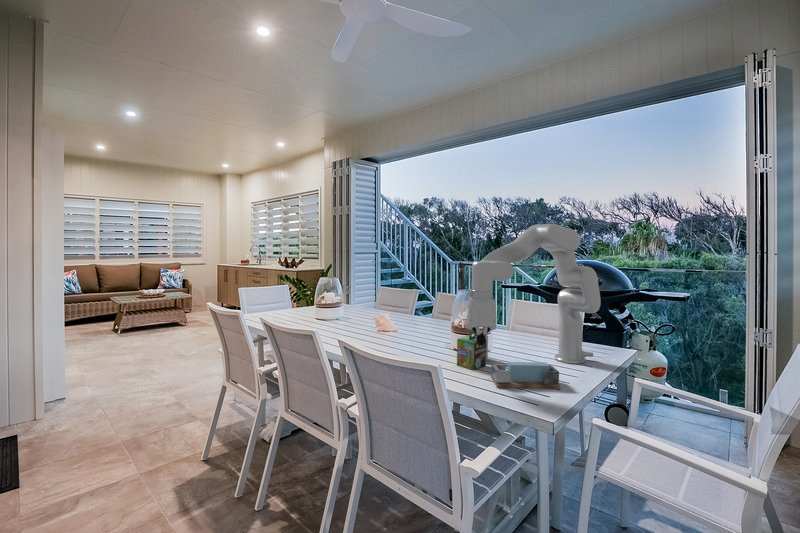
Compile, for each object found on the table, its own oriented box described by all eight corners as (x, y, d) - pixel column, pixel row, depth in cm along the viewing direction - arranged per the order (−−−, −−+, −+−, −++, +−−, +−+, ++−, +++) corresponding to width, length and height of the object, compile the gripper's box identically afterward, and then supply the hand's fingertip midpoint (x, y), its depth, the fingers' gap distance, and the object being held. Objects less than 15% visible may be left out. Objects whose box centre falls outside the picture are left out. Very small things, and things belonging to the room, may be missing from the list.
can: (486, 356, 180) (487, 330, 179) (488, 361, 172) (489, 334, 172) (469, 356, 181) (470, 330, 180) (471, 360, 173) (471, 333, 172)
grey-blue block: (545, 378, 147) (545, 362, 147) (549, 382, 143) (549, 365, 143) (507, 377, 147) (507, 361, 147) (510, 381, 143) (510, 365, 143)
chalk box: (468, 361, 173) (469, 327, 172) (486, 365, 167) (487, 330, 166) (455, 365, 167) (456, 330, 166) (474, 370, 160) (474, 334, 159)
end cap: (504, 375, 150) (505, 364, 149) (510, 382, 141) (510, 371, 141) (491, 374, 150) (491, 364, 149) (496, 382, 141) (496, 371, 141)
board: (549, 378, 150) (549, 363, 150) (560, 389, 139) (560, 373, 139) (490, 377, 151) (491, 362, 151) (497, 388, 140) (497, 372, 140)
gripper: (462, 296, 140) (461, 347, 141) (505, 296, 140) (503, 348, 141) (459, 293, 148) (458, 342, 149) (500, 294, 148) (498, 343, 148)
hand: (480, 345), depth 145 cm, fingers closed
